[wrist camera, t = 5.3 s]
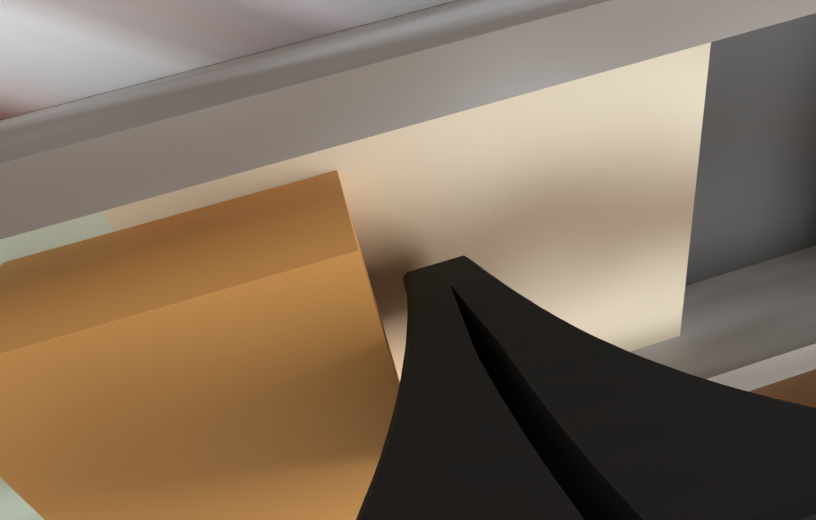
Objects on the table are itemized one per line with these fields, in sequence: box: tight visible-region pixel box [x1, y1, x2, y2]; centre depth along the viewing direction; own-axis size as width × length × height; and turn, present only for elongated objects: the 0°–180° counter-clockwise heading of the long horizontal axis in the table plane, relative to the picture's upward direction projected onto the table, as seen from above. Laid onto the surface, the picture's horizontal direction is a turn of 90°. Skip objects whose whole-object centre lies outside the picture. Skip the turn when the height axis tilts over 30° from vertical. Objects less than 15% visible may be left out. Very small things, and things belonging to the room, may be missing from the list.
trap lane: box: [0, 0, 816, 520], centre depth 11 cm, size 10×36×4 cm, turn 103°
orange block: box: [0, 170, 400, 520], centre depth 10 cm, size 6×6×3 cm
